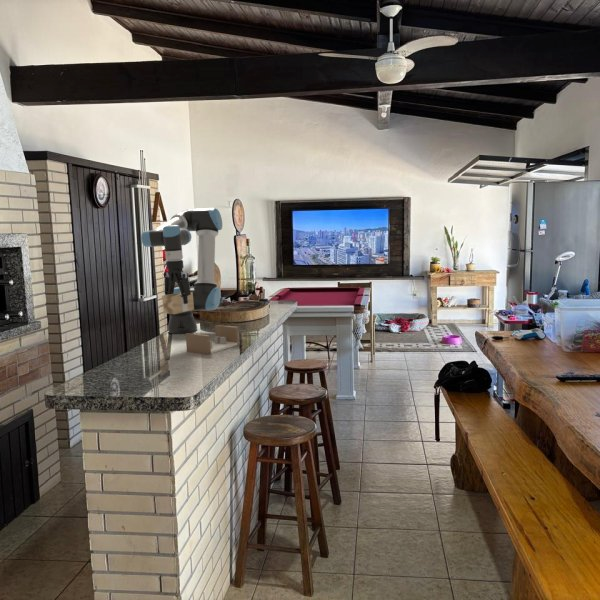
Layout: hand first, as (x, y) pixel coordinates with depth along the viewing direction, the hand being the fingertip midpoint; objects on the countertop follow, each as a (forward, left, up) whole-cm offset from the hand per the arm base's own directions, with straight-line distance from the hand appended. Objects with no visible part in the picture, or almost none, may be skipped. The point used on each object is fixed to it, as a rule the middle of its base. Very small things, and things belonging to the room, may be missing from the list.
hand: (179, 310), depth 258 cm
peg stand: (+17, +3, -17) cm, 24 cm away
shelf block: (0, 0, 0) cm, 0 cm away
